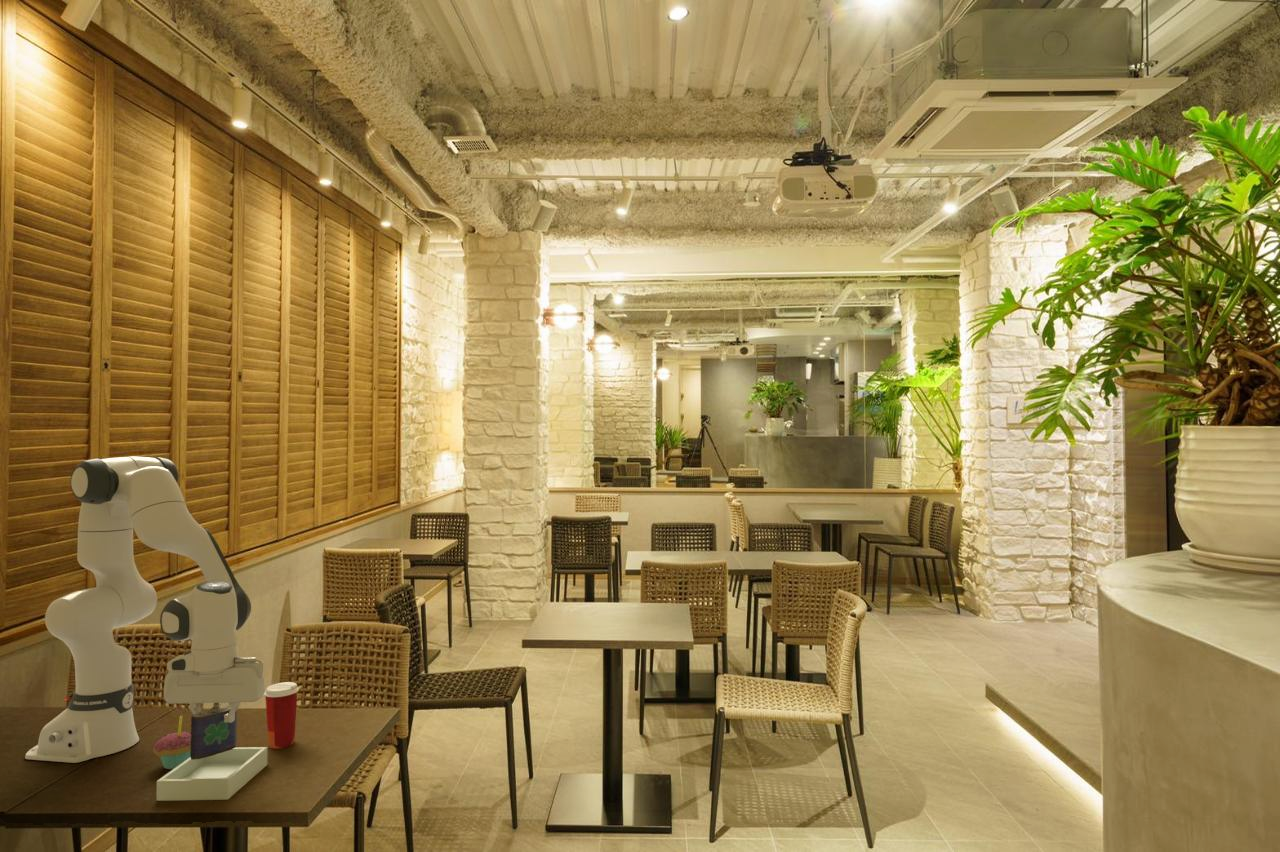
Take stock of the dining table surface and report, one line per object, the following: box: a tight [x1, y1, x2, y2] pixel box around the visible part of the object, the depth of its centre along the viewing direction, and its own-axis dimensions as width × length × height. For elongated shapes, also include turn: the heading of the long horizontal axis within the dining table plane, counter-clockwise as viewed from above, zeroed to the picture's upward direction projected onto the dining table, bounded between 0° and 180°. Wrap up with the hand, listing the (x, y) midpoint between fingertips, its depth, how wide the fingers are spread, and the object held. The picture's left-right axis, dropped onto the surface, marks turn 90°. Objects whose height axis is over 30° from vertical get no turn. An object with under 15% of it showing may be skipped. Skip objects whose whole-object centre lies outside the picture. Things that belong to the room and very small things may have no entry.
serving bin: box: [156, 746, 268, 802], centre depth 162 cm, size 15×17×4 cm
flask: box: [190, 703, 238, 760], centre depth 162 cm, size 9×3×11 cm, turn 141°
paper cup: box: [263, 681, 300, 750], centre depth 182 cm, size 8×8×14 cm
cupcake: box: [152, 713, 191, 770], centre depth 171 cm, size 9×8×12 cm
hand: (215, 722), depth 162 cm, fingers closed on flask, 5 cm apart
